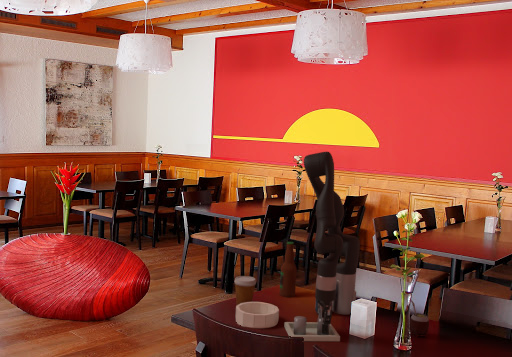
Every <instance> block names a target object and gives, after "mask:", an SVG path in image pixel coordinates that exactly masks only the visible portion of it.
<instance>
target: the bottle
mask: <svg viewBox="0 0 512 357" xmlns="http://www.w3.org/2000/svg"><path fill="white" fill-rule="evenodd" d="M294 244H295V242H293V241H286V250H285V255H284V262H283V264H282V265H281V267H280V280H279V295H280V296H281V297H284V298H293V297H295V295H296V287H297V286H296V285H297V266H296V264H295V253H294V252H295V251H294V246H295V245H294Z"/></svg>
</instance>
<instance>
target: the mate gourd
mask: <svg viewBox="0 0 512 357" xmlns="http://www.w3.org/2000/svg"><path fill="white" fill-rule="evenodd" d="M410 302H411V304H412V307H413V311H414V313H413V314H412V315H411V317H410V320H409V324H410V327H409V328H410V332H411V333H414V334H416V335H415V336H417V335H426V336H427V334H428V331H429V326H430V320H429V317H428V316H427V314H424V313H421V312H420V313H419V312H416V311H417V310H416V307H415V306H416V305H415V302H414V301H413V300H412V299H411V301H410ZM411 333H410V334H411Z"/></svg>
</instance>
